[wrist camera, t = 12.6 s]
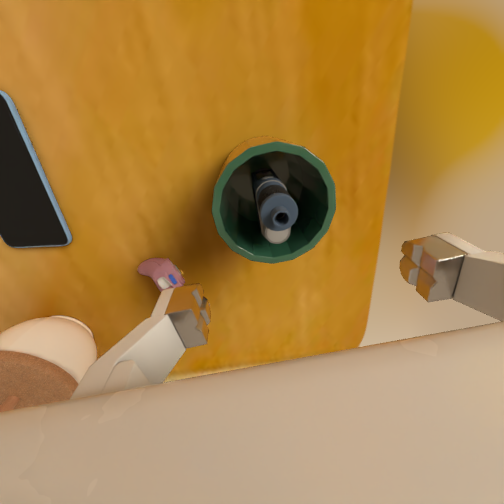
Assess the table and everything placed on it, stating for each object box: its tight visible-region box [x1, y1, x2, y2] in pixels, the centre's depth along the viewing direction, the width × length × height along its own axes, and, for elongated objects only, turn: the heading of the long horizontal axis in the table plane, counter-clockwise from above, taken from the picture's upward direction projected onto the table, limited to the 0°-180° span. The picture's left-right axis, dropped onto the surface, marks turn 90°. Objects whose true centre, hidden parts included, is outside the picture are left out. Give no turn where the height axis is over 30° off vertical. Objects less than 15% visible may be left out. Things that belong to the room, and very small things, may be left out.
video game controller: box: [138, 258, 210, 306], centre depth 29 cm, size 10×5×7 cm, turn 24°
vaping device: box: [252, 168, 298, 244], centre depth 20 cm, size 3×5×12 cm, turn 10°
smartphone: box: [0, 90, 72, 248], centre depth 24 cm, size 7×1×15 cm
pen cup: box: [212, 136, 336, 264], centre depth 22 cm, size 9×9×9 cm
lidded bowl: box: [0, 315, 97, 412], centre depth 30 cm, size 13×13×11 cm
